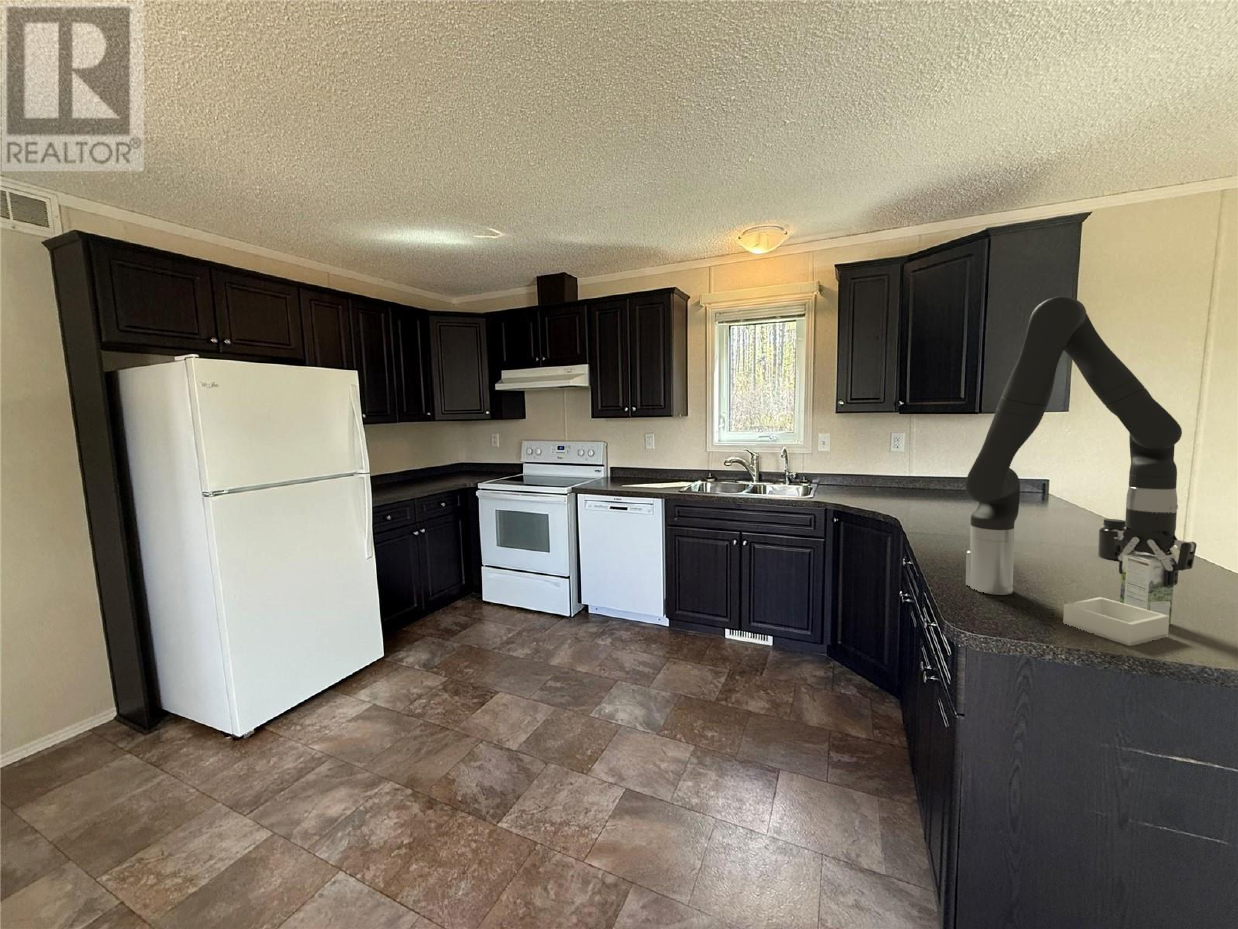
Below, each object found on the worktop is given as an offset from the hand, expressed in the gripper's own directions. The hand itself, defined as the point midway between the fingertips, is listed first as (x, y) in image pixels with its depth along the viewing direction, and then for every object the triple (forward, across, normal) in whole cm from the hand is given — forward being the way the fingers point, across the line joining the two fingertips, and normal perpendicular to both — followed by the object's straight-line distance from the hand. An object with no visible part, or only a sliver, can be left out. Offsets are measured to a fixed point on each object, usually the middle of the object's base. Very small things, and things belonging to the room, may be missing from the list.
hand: (1147, 581), depth 108 cm
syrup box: (+9, 0, 0) cm, 9 cm away
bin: (+9, +1, -12) cm, 15 cm away
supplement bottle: (+9, -32, +48) cm, 58 cm away
